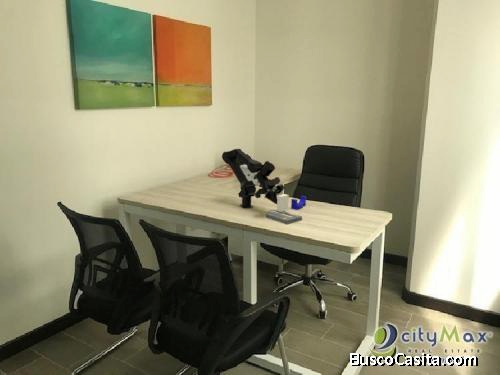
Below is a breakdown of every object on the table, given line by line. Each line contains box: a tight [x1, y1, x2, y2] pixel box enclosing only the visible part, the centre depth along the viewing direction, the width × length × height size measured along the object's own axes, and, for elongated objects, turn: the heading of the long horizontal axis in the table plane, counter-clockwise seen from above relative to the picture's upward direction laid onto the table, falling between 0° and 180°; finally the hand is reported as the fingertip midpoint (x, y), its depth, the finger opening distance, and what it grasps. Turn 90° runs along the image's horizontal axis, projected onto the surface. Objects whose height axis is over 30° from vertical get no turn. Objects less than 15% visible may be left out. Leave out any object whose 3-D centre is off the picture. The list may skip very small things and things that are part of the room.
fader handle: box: [276, 193, 290, 214], centre depth 219 cm, size 3×6×11 cm, turn 131°
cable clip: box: [290, 195, 307, 211], centre depth 242 cm, size 12×4×6 cm, turn 143°
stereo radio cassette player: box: [239, 164, 260, 186], centre depth 305 cm, size 21×8×20 cm, turn 46°
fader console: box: [265, 208, 303, 225], centre depth 219 cm, size 16×12×3 cm
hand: (277, 203), depth 222 cm, fingers closed
